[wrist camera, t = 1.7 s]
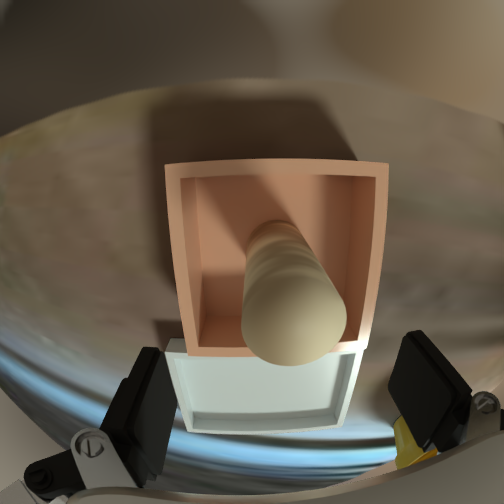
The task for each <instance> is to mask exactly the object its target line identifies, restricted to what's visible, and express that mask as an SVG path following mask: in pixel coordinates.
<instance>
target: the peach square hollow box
mask: <svg viewBox="0 0 504 504" xmlns="http://www.w3.org/2000/svg"><path fill="white" fill-rule="evenodd" d="M388 174H389V163H377V162H365V161H349V160H329V159H236V160H216V161H200V162H187V163H175V164H165V179H166V194H167V207H168V219H169V229H170V239H171V248H172V257H173V265H174V273H175V280H176V287H177V294H178V301H179V307H180V314H181V320H182V326H183V331H184V337H185V342H186V348H187V353H188V356H200V357H257V356H256V355H255V354H254V353H253V352H252V351H251V350H250V349H249V348H248V346H247V345H246V343H245V341H244V339H243V336H242V330H241V319H242V305H243V291H244V278H245V264H246V251H247V242H248V239H249V237H250V235H251V233H252V232H253V230H254V229H255V228H256V227H257V226H259V225H260V224H262V223H264V222H267V221H270V220H283V221H286V222H289V223H291V224H293V225H294V226H295V227H296V228H297V229H298V230H299V231H300V232H301V234H302V235H303V237H304V238H305V240H306V242H307V243H308V245H309V246H310V248H311V249H312V251H313V253H314V254H315V256H316V257H317V259H318V261H319V262H320V264H321V265H322V267H323V269H324V270H325V272H326V274H327V275H328V277H329V278H330V280H331V282H332V283H333V285H334V287H335V288H336V290H337V292H338V293H339V295H340V297H341V298H342V300H343V302H344V305H345V308H346V314H347V320H346V326H345V330H344V332H343V335H342V337H341V338H340V340H339V341H338V343H337V344H336V345H335V346H334V348H333V349H332V350H330V351H329V352H328V353H331V352H341V351H351V350H359V349H366V348H367V344H368V339H369V335H370V330H371V325H372V320H373V315H374V310H375V304H376V299H377V293H378V286H379V280H380V273H381V265H382V258H383V249H384V240H385V229H386V216H387V201H388Z"/></svg>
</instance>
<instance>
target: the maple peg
mask: <svg viewBox="0 0 504 504" xmlns="http://www.w3.org/2000/svg"><path fill="white" fill-rule="evenodd" d="M346 320H347V314H346V308H345V305H344V302H343V300H342V298H341V297H340V295H339V293H338V292H337V290H336V288H335V287H334V285H333V283H332V282H331V280H330V278H329V277H328V275H327V274H326V272H325V270H324V269H323V267H322V265H321V264H320V262H319V261H318V259H317V257H316V256H315V254H314V253H313V251H312V249H311V248H310V246H309V245H308V243H307V242H306V240H305V238H304V237H303V235H302V234H301V232H300V231H299V230H298V229H297V228H296V227H295V226H294V225H293V224H291V223H289V222H286V221H283V220H270V221H267V222H264V223H262V224H260V225H259V226H257V227H256V228H255V229H254V230H253V232H252V233H251V235H250V237H249V239H248V242H247V251H246V264H245V278H244V291H243V305H242V319H241V330H242V336H243V339H244V341H245V343H246V345H247V346H248V348H249V349H250V350H251V351H252V352H253V353H254V354H255V355H256V356H257V357H259V358H260V359H262V360H264V361H266V362H268V363H271V364H275V365H279V366H299V365H303V364H307V363H310V362H313V361H315V360H317V359H319V358H321V357H323V356H324V355H325V354H327V353H328V352H329V351H330V350H332V349H333V348H334V346H335V345H336V344H337V343H338V341H339V340H340V338H341V337H342V335H343V332H344V330H345V326H346Z"/></svg>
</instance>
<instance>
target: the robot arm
mask: <svg viewBox="0 0 504 504" xmlns="http://www.w3.org/2000/svg"><path fill="white" fill-rule="evenodd" d="M388 390H389V392H390V394H391V396H392V398H393V400H394V402H395V403H396V405H397V407H398V409H399V411H400V413H401V415H402V417H403V418H404V420H405V422H406V424H407V426H408V428H409V430H410V432H411V434H412V436H413V438H414V440H415V442H416V444H417V446H418V447H419V448H422V450H423V452H424V453H426V452H428V451H431V450H433V449H435V448H437V450H438V452H437V455H436V456H433V457H431V458H429V459H426V460H424V461H421V462H418V463H416V464H413V465H410V466H408V467H405V468H402V469H399V470H396V471H393V472H390V473H386V474H383V475H380V476H376V477H372V478H369V479H365V480H361V481H357V482H353V483H348V484H343V485H339V486H333V487H328V488H322V489H316V490H309V491H301V492H293V493H283V494H269V495H205V494H190V493H179V492H171V491H162V490H153V489H145V488H144V486H143V485H145V484H146V480H152V481H156V477H157V475H161V473H162V470H163V465H164V461H165V456H166V451H167V447H168V442H169V438H170V434H171V429H172V425H173V421H174V417H175V412H176V408H177V399H176V396H175V392H174V389H173V385H172V381H171V378H170V374H169V370H168V366H167V363H166V359H165V355H164V352H163V351H160V350H159V348H157V347H143V348H142V349H141V351H140V354H139V356H138V358H137V360H136V362H135V364H134V366H133V368H132V370H131V372H130V374H129V376H128V378H124V379H123V380H122V381H121V383H120V385H119V387H118V390H117V392H116V394H115V396H114V398H113V400H112V402H111V404H110V406H109V409H108V411H107V413H106V415H105V417H104V420H103V422H102V424H101V426H100V428H99V429H96V428H87V429H83V430H81V431H79V432H78V433H77V434H76V435H74V437H73V439H72V441H71V449H69V450H67V451H64V452H61V453H59V454H56V455H53V456H51V457H48V458H45V459H42V460H39V461H36V462H34V463H32V464H30V465H29V466H28V467H27V468H26V470H25V473H24V480H23V481H20V480H19V479H18V480H17V481H15V482H14V483H12V484H11V485H10V486H8V487H7V488H5V489H4V490H2V491H1V492H0V504H504V410H503V409H501V406H500V402H499V400H498V398H497V397H496V396H495V395H493V394H492V393H490V392H487V391H481V392H478V393H476V394H474V396H473V397H472V395H471V392H472V389H471V388H470V387H469V385H468V384H467V383H466V382H465V380H464V379H463V378H462V377H461V375H460V374H459V373H458V372H457V371H456V369H455V368H454V367H453V366H452V365H451V363H450V362H449V361H448V360H447V359H446V358H445V356H444V355H443V354H442V353H441V352H440V351H439V349H438V348H437V347H436V346H435V345H434V344H433V343H432V342H431V340H430V339H429V338H428V337H427V336H426V335H425V334H424V333H423V331H421V330H416V331H411V332H408V333H407V334H406V336H404V337H403V339H402V343H401V346H400V349H399V353H398V356H397V359H396V362H395V366H394V369H393V372H392V375H391V377H390V380H389V383H388Z"/></svg>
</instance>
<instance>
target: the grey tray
mask: <svg viewBox="0 0 504 504" xmlns="http://www.w3.org/2000/svg"><path fill="white" fill-rule="evenodd" d="M363 350H364V349H359V350H351V351H341V352H331V353H327V354H325V355H324V356H323V357H321V358H319V359H317V360H315V361H313V362H310V363H307V364H303V365H299V366H279V365H275V364H271V363H268V362H266V361H264V360H262V359H260V358H259V357H200V356H188V353H187V348H186V342H185V339H182V338H170V341H169V343H168V345H167V348H166V350H165V355H166V359H167V363H168V367H169V371H170V375H171V378H172V382H173V385H174V389H175V392H176V396H177V399H178V403H179V406H180V409H181V412H182V416H183V419H184V422H185V425H186V428H187V431H188V432H198V433H214V434H277V433H293V432H305V431H315V430H323V429H331V428H338V427H342V425H343V422H344V419H345V416H346V413H347V409H348V406H349V403H350V400H351V396H352V393H353V389H354V386H355V382H356V378H357V375H358V371H359V367H360V363H361V359H362V354H363Z"/></svg>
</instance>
